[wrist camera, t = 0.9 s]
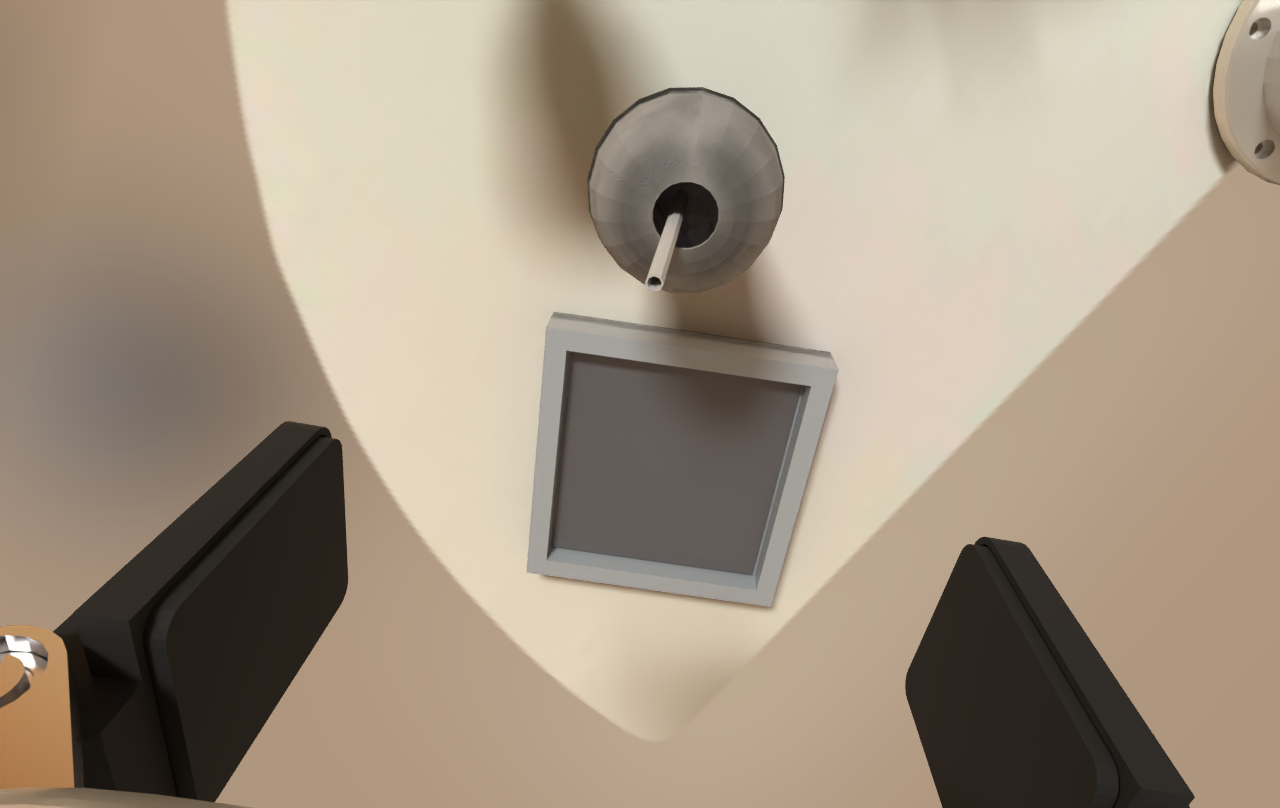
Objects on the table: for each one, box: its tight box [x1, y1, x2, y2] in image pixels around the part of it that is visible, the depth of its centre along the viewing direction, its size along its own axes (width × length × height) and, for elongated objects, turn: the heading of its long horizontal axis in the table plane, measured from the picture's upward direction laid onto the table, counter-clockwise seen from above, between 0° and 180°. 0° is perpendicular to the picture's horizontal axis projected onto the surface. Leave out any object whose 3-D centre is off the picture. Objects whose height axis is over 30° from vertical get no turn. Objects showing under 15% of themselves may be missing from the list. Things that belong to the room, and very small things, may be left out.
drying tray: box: [527, 312, 838, 607], centre depth 44 cm, size 16×17×2 cm
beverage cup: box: [588, 87, 785, 292], centre depth 28 cm, size 7×7×20 cm
